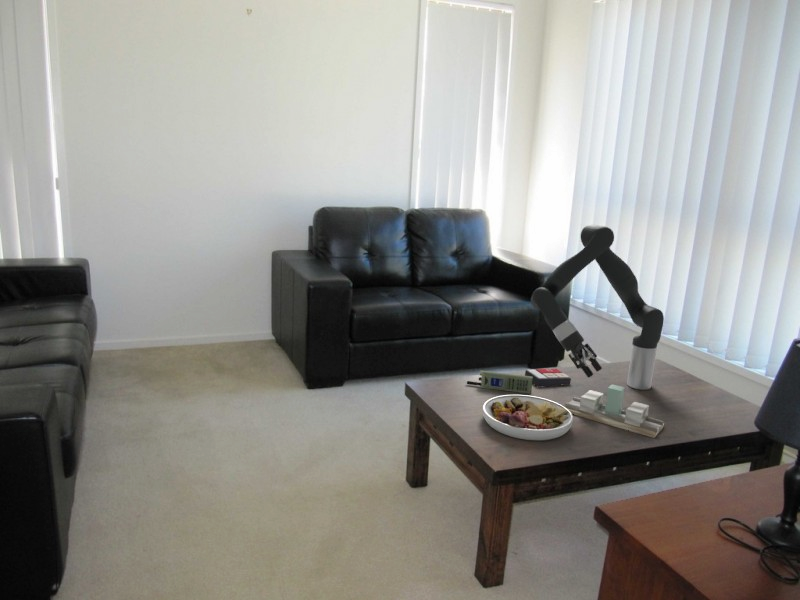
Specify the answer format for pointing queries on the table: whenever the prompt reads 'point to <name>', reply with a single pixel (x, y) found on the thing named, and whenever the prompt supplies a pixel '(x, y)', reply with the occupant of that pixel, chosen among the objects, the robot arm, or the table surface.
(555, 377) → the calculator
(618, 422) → the rail board
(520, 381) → the handheld radio
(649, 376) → the robot arm
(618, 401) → the sage module
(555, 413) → the bowl
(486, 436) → the table surface
